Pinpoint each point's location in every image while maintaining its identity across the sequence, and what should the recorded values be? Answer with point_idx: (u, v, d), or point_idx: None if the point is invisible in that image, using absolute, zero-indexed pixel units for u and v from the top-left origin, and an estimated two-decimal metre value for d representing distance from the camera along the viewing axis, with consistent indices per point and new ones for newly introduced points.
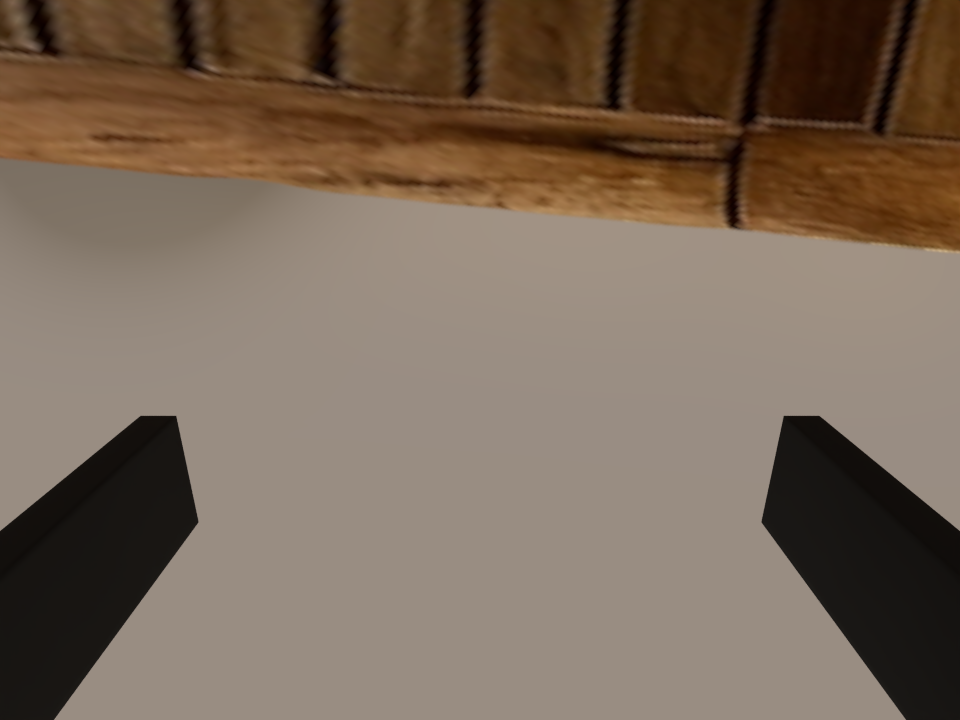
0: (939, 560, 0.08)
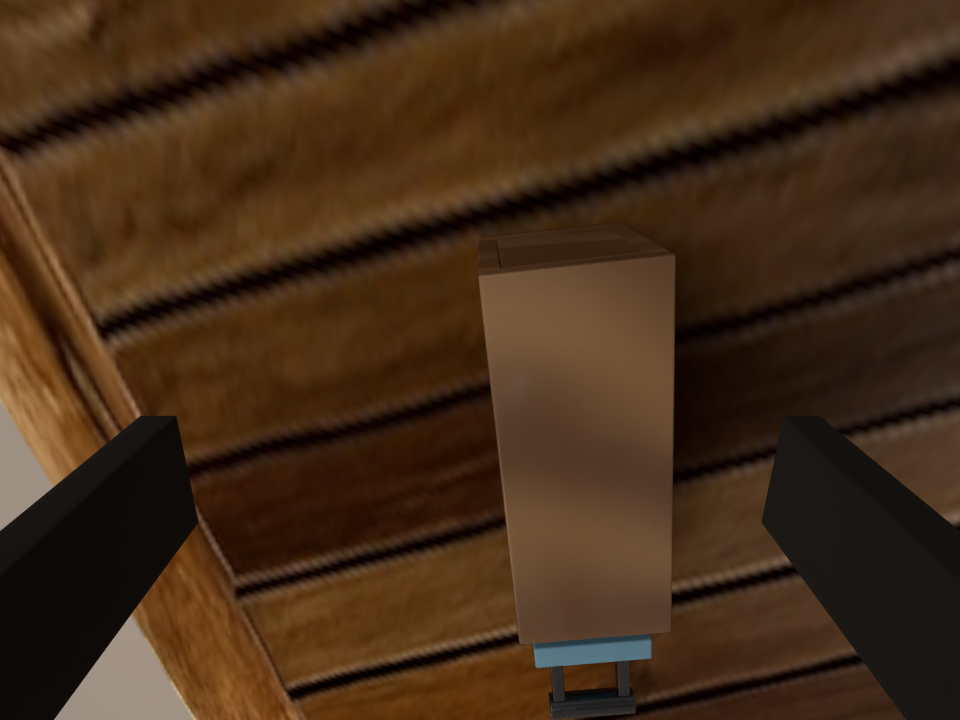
0: (939, 560, 0.08)
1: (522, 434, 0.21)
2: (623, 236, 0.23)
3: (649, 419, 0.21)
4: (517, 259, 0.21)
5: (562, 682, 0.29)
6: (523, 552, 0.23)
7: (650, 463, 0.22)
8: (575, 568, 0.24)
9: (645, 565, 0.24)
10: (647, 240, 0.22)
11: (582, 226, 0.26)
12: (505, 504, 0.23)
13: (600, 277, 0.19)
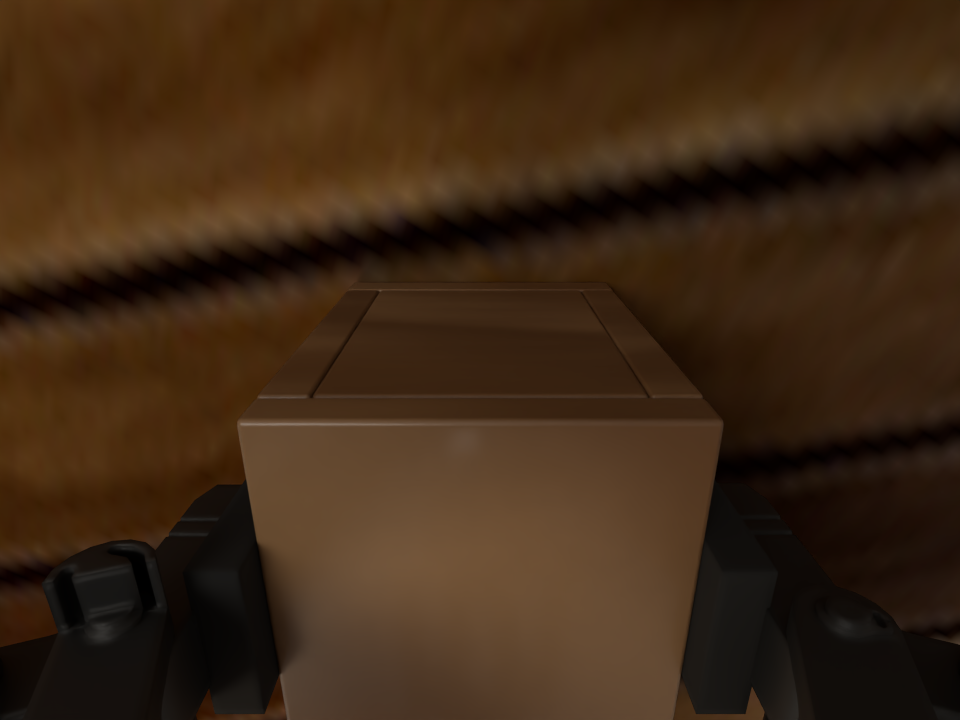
0: None
1: None
2: (605, 324, 0.12)
3: None
4: (368, 366, 0.10)
5: None
6: None
7: None
8: None
9: None
10: (653, 348, 0.10)
11: (537, 283, 0.15)
12: None
13: (537, 454, 0.08)
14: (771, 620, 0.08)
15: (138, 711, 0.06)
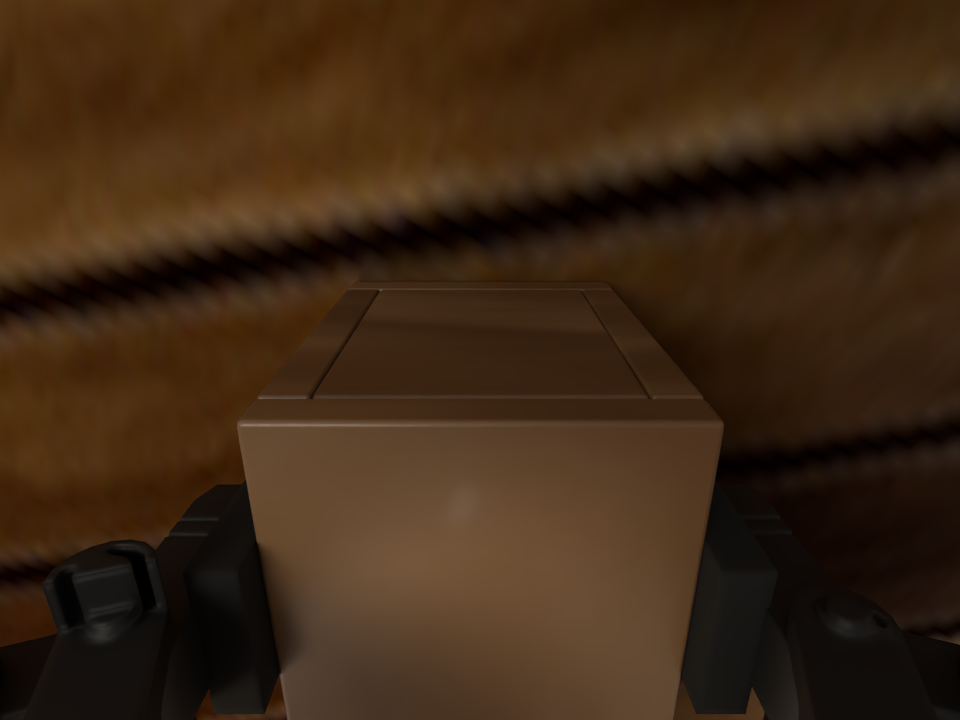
0: None
1: None
2: (606, 324, 0.12)
3: None
4: (368, 366, 0.10)
5: None
6: None
7: None
8: None
9: None
10: (654, 348, 0.10)
11: (537, 282, 0.15)
12: None
13: (537, 455, 0.08)
14: (771, 620, 0.08)
15: (138, 711, 0.06)
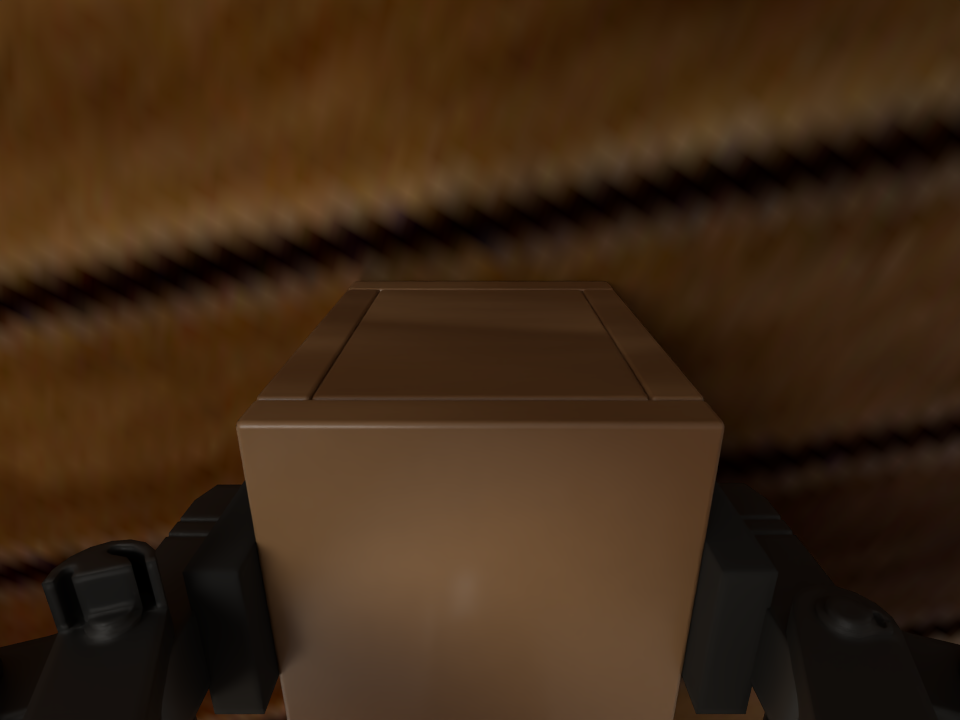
0: None
1: None
2: (606, 324, 0.12)
3: None
4: (368, 367, 0.10)
5: None
6: None
7: None
8: None
9: None
10: (654, 349, 0.10)
11: (538, 282, 0.15)
12: None
13: (537, 456, 0.08)
14: (771, 619, 0.08)
15: (138, 711, 0.06)
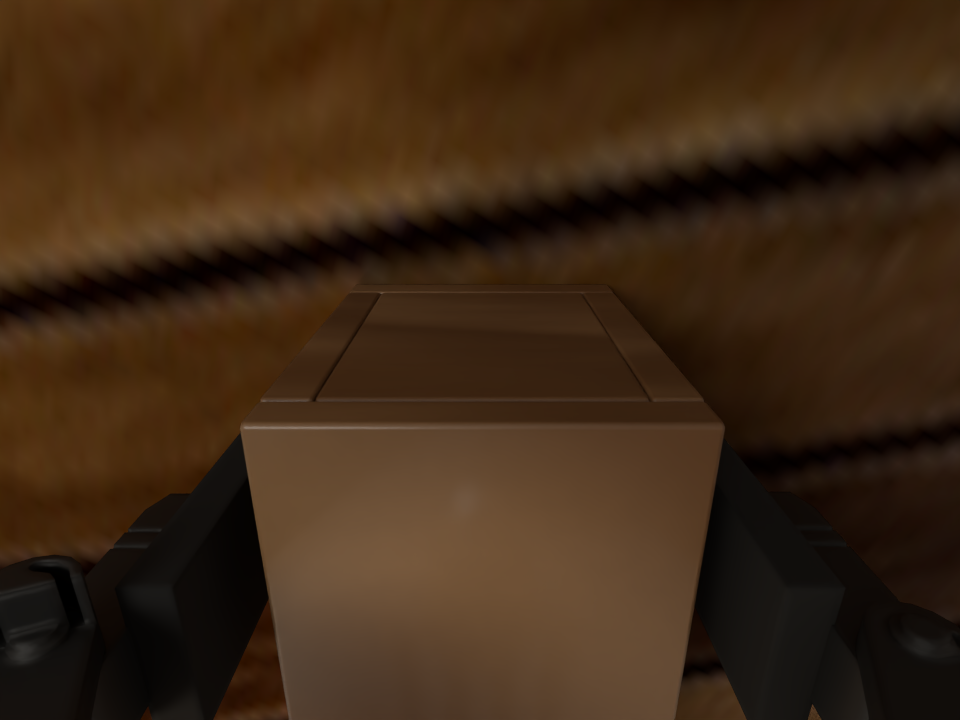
0: (726, 498, 0.10)
1: None
2: (606, 327, 0.12)
3: None
4: (370, 369, 0.10)
5: None
6: None
7: None
8: None
9: None
10: (654, 351, 0.10)
11: (538, 285, 0.15)
12: None
13: (539, 457, 0.08)
14: (837, 637, 0.08)
15: None
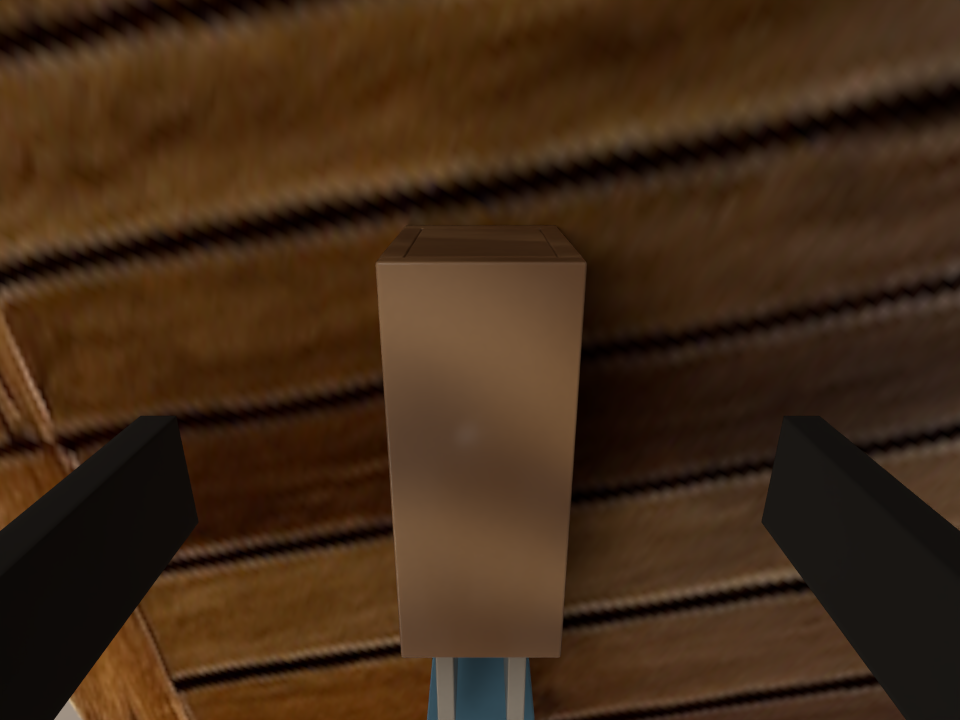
0: (939, 560, 0.08)
1: (414, 436, 0.20)
2: (548, 239, 0.22)
3: (549, 434, 0.20)
4: (427, 250, 0.20)
5: None
6: (409, 561, 0.22)
7: (548, 480, 0.21)
8: (463, 582, 0.22)
9: (537, 585, 0.22)
10: (568, 245, 0.21)
11: (514, 225, 0.25)
12: (393, 509, 0.21)
13: (506, 277, 0.18)
14: None
15: None
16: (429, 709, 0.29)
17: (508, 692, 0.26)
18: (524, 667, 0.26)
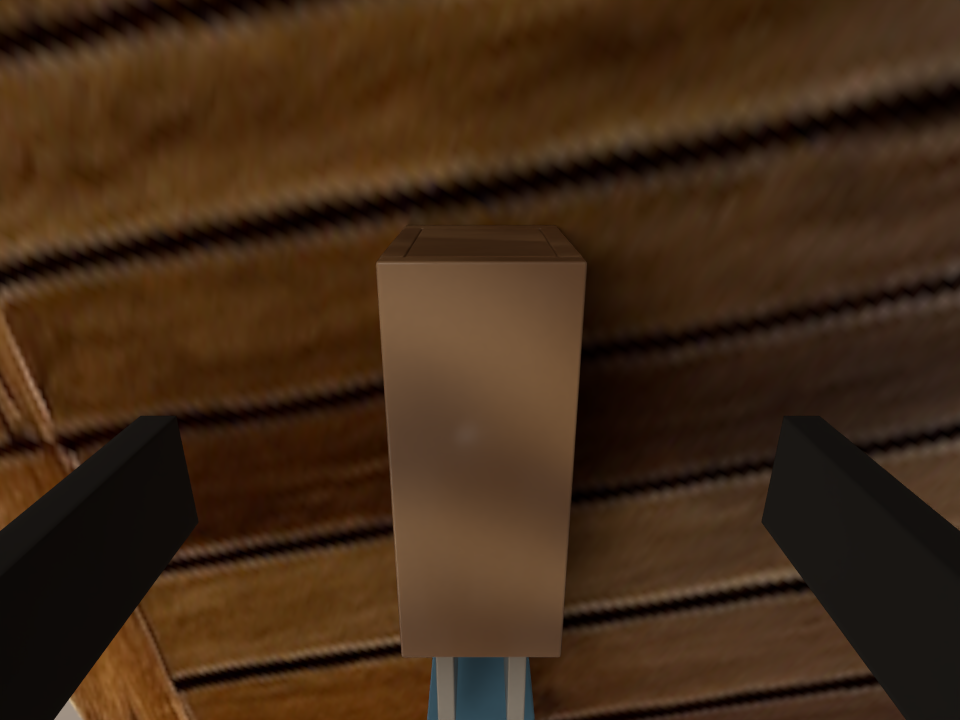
0: (939, 560, 0.08)
1: (415, 436, 0.20)
2: (548, 239, 0.22)
3: (549, 433, 0.20)
4: (427, 250, 0.20)
5: None
6: (409, 561, 0.22)
7: (548, 480, 0.21)
8: (464, 582, 0.22)
9: (537, 585, 0.22)
10: (568, 245, 0.21)
11: (514, 225, 0.25)
12: (393, 509, 0.21)
13: (506, 277, 0.18)
14: None
15: None
16: (429, 709, 0.29)
17: (508, 692, 0.26)
18: (524, 667, 0.26)
